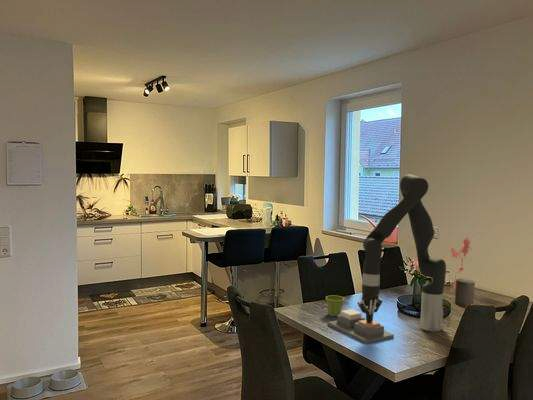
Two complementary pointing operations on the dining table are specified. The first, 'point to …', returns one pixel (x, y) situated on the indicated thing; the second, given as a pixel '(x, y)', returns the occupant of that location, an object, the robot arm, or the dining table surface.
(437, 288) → the robot arm
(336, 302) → the plant pot
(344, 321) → the key panel
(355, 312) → the cream key
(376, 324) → the terracotta key
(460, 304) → the pillar candle
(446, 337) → the dining table surface
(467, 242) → the pink flower sprig
